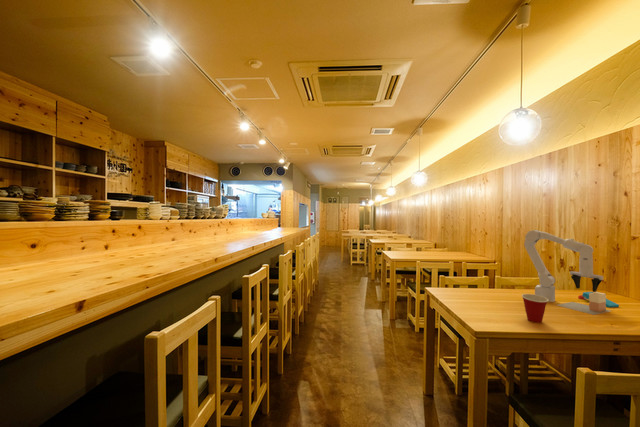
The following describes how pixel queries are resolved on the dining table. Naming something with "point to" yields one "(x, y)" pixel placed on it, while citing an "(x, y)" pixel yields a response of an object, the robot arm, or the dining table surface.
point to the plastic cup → (534, 307)
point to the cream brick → (597, 297)
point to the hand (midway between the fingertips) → (586, 289)
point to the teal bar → (608, 302)
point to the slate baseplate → (581, 308)
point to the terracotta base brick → (597, 306)
